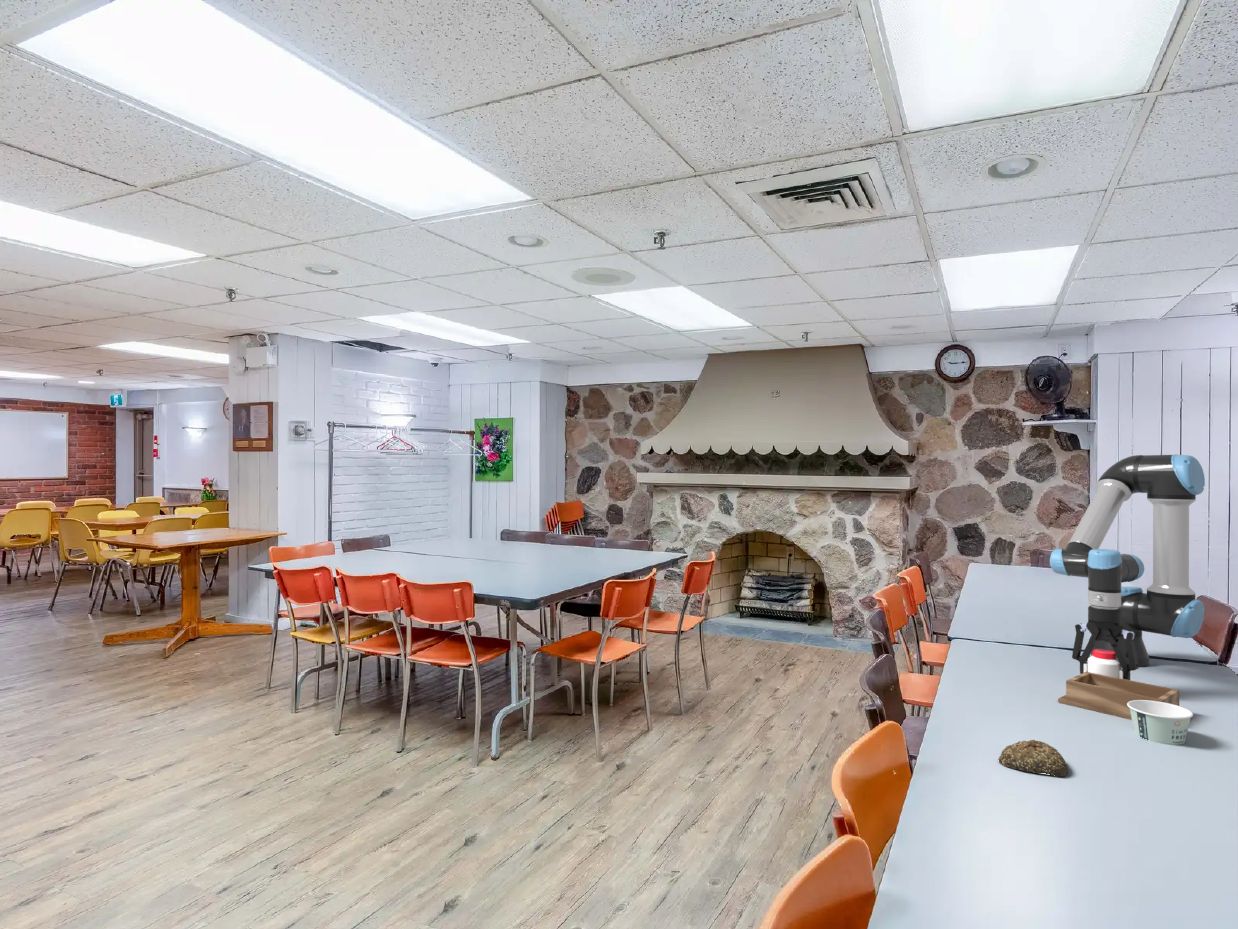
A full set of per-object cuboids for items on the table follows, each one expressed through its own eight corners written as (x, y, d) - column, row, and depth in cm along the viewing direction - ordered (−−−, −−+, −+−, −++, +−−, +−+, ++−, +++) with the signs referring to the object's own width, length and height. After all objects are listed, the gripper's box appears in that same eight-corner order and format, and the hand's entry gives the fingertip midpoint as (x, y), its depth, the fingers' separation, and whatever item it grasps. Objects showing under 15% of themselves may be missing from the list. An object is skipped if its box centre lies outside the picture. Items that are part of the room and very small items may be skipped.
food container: (1175, 751, 155) (1175, 720, 155) (1115, 733, 166) (1115, 704, 166) (1204, 741, 161) (1204, 712, 161) (1144, 724, 172) (1144, 697, 172)
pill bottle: (1127, 697, 192) (1127, 655, 192) (1095, 695, 193) (1095, 654, 193) (1113, 688, 199) (1113, 648, 199) (1082, 686, 201) (1082, 647, 201)
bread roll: (1068, 783, 140) (1068, 757, 140) (996, 769, 147) (996, 744, 147) (1068, 760, 151) (1068, 736, 151) (1001, 748, 158) (1001, 725, 158)
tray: (1079, 692, 196) (1079, 670, 196) (1188, 716, 177) (1188, 691, 177) (1058, 702, 187) (1058, 679, 187) (1170, 729, 168) (1170, 703, 168)
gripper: (1057, 602, 202) (1057, 684, 202) (1144, 614, 186) (1144, 703, 186) (1068, 599, 207) (1068, 679, 207) (1154, 611, 191) (1154, 697, 191)
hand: (1104, 690), depth 196 cm, fingers closed on pill bottle, 8 cm apart
